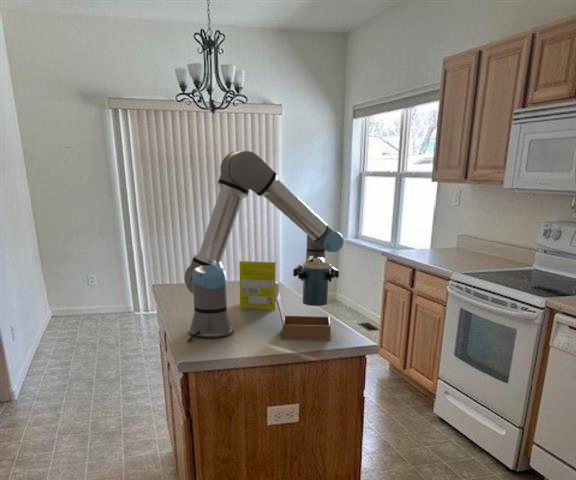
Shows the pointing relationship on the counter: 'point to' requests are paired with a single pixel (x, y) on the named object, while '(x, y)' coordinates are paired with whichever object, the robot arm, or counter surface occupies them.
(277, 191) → the robot arm
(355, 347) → the counter surface
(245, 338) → the counter surface
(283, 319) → the flap
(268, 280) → the food package
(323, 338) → the carton
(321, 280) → the cookie jar
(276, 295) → the lumpy-topped squat cylinder
